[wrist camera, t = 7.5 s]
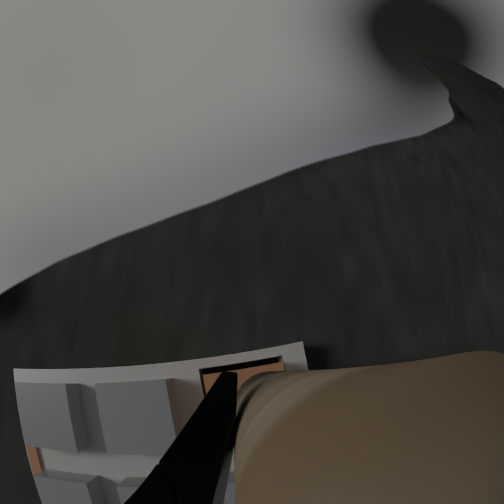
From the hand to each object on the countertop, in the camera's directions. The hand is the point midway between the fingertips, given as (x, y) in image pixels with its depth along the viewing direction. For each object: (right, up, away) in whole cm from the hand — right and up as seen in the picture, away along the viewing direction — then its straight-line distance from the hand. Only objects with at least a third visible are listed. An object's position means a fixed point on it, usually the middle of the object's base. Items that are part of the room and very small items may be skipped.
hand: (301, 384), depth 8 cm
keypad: (-7, -10, +10) cm, 16 cm away
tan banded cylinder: (0, -4, +6) cm, 7 cm away
